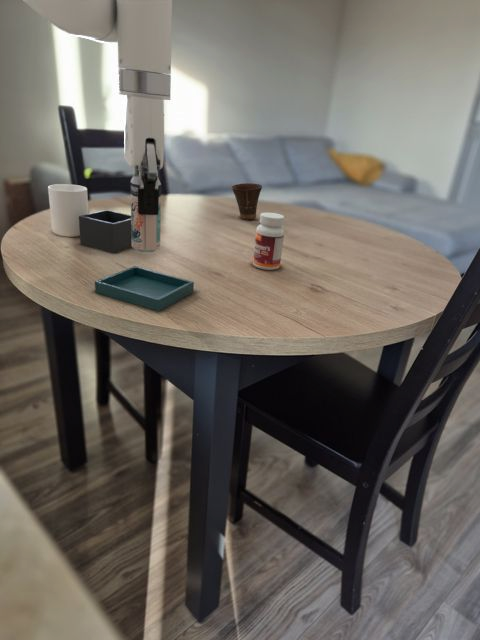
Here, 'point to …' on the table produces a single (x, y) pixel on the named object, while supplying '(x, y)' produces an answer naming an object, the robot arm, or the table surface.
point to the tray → (144, 287)
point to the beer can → (144, 222)
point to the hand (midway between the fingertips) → (145, 209)
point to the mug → (67, 208)
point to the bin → (106, 230)
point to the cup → (247, 199)
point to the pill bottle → (269, 241)
